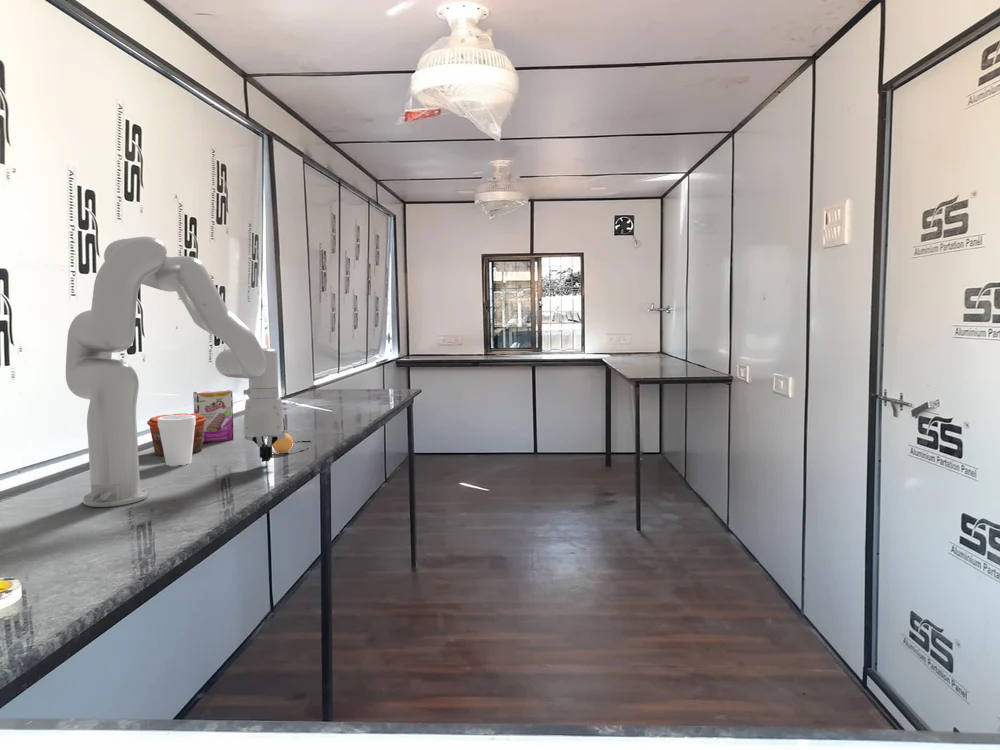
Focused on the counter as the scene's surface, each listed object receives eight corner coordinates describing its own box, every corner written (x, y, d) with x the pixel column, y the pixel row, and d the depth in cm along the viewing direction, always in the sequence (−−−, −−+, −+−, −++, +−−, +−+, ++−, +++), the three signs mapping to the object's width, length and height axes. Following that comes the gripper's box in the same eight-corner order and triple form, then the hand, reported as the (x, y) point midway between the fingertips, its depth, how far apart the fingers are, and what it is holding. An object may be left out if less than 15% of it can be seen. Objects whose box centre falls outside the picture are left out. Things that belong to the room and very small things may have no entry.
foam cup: (204, 460, 190) (201, 415, 188) (185, 467, 181) (183, 420, 179) (172, 459, 191) (170, 414, 189) (152, 467, 182) (150, 419, 180)
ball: (290, 454, 197) (290, 434, 196) (270, 455, 196) (269, 435, 196) (295, 450, 203) (294, 430, 202) (275, 450, 202) (274, 431, 202)
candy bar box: (198, 444, 213) (196, 393, 211) (194, 441, 217) (192, 391, 215) (234, 439, 220) (232, 390, 218) (229, 437, 224) (227, 389, 222)
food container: (179, 459, 191) (177, 422, 190) (136, 455, 196) (134, 419, 195) (219, 448, 206) (217, 414, 205) (178, 445, 211) (176, 411, 210)
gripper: (231, 396, 177) (233, 464, 178) (289, 395, 178) (291, 462, 180) (239, 392, 184) (242, 458, 186) (295, 391, 185) (297, 456, 187)
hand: (266, 460), depth 183 cm, fingers closed
